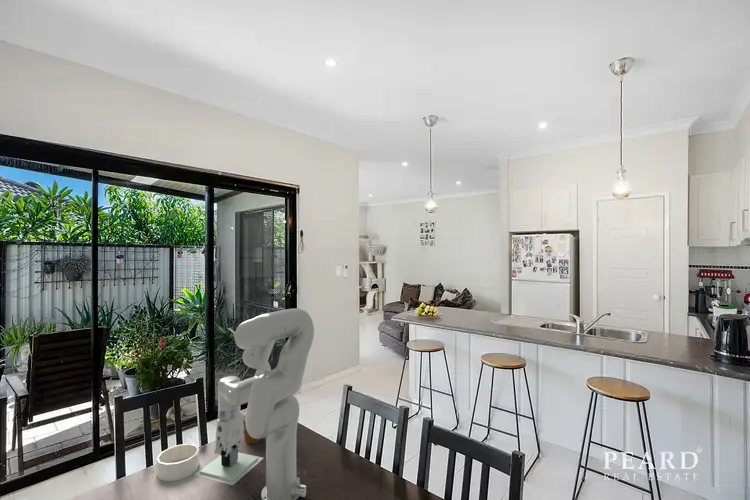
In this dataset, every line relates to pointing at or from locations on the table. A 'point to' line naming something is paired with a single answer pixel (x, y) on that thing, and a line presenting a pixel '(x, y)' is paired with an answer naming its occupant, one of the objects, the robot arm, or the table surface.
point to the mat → (227, 480)
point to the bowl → (177, 462)
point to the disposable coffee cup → (247, 437)
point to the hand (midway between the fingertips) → (229, 462)
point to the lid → (233, 470)
